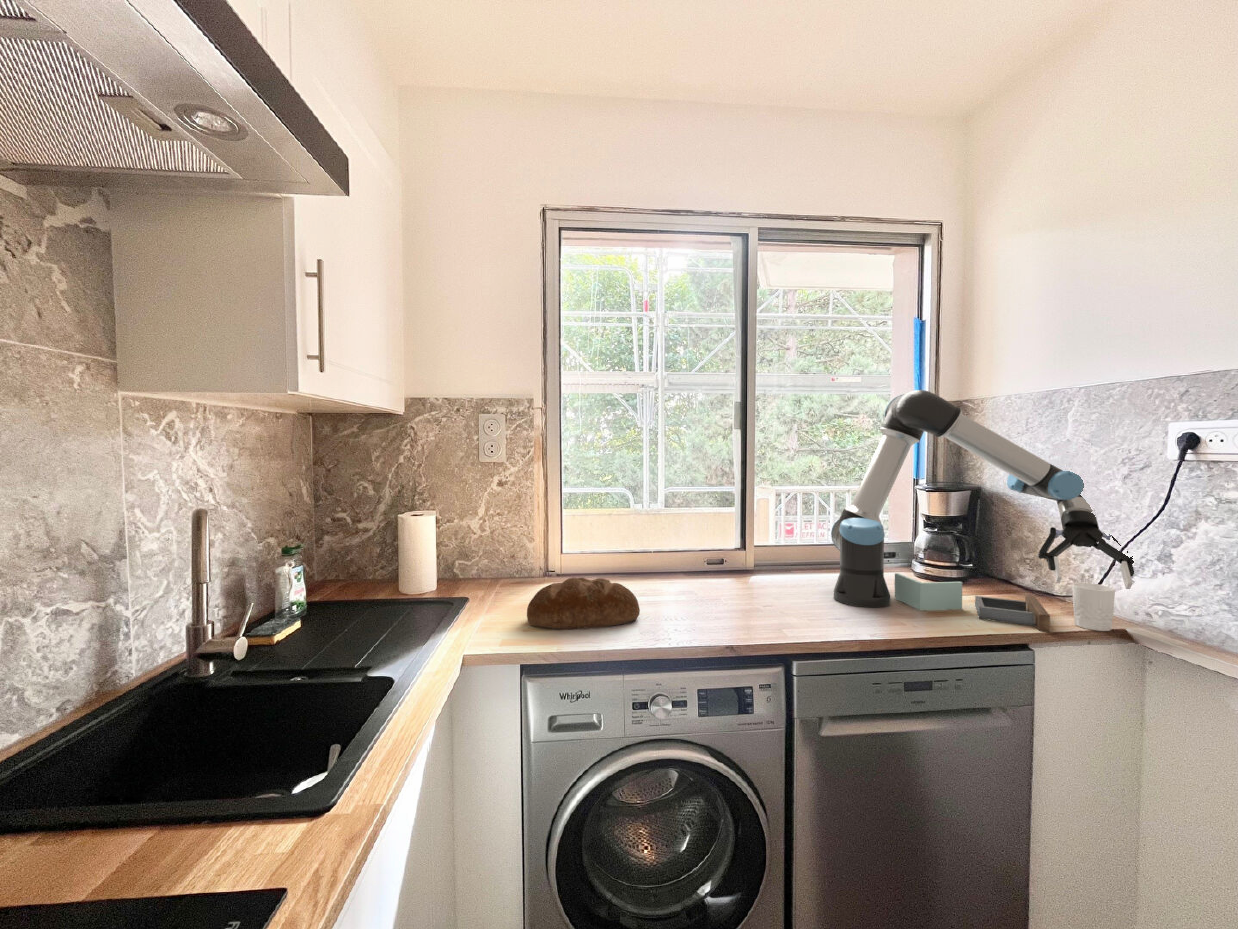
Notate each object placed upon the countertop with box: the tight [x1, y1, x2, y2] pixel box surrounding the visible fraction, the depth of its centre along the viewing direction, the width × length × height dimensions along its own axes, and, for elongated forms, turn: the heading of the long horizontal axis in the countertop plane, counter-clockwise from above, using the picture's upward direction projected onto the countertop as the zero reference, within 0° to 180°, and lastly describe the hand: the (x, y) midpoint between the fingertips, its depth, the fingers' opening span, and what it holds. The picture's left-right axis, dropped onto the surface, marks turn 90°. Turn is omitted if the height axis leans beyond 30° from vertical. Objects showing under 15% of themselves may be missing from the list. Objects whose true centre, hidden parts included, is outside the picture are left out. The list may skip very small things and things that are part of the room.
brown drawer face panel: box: [1024, 594, 1051, 633], centre depth 135 cm, size 2×20×4 cm, turn 150°
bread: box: [526, 577, 641, 630], centre depth 137 cm, size 16×29×11 cm, turn 100°
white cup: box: [1071, 582, 1116, 632], centre depth 130 cm, size 8×8×10 cm
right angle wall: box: [894, 572, 963, 611], centre depth 150 cm, size 12×12×8 cm
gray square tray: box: [974, 595, 1036, 627], centre depth 139 cm, size 12×12×3 cm
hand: (1093, 583), depth 134 cm, fingers open, 13 cm apart
